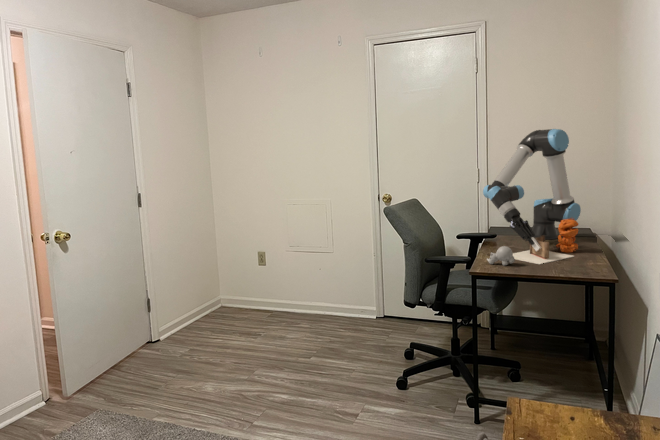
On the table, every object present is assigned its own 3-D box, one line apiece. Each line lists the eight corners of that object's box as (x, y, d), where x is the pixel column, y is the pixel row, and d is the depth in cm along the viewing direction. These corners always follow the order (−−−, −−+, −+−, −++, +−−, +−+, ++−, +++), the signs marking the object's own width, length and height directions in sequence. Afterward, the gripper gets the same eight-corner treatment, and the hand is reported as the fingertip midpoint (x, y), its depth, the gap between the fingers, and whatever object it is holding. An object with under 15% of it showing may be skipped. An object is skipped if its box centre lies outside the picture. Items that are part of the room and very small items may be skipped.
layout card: (501, 256, 252) (501, 255, 252) (535, 249, 266) (535, 248, 266) (539, 264, 234) (540, 263, 234) (574, 256, 247) (574, 255, 247)
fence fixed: (541, 250, 262) (541, 235, 261) (545, 250, 260) (545, 235, 259) (528, 253, 255) (529, 237, 254) (532, 254, 254) (533, 238, 253)
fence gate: (531, 253, 253) (531, 237, 252) (535, 252, 254) (535, 237, 253) (545, 258, 241) (546, 242, 240) (549, 258, 241) (550, 242, 240)
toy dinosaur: (569, 254, 252) (570, 219, 249) (551, 251, 261) (552, 216, 259) (584, 252, 257) (585, 217, 254) (565, 248, 266) (566, 214, 264)
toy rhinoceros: (491, 267, 241) (485, 251, 241) (516, 259, 236) (509, 242, 236) (490, 270, 235) (483, 253, 235) (515, 262, 229) (508, 245, 230)
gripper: (512, 215, 262) (541, 252, 251) (497, 218, 255) (526, 255, 244) (522, 206, 257) (551, 243, 246) (506, 208, 250) (536, 246, 239)
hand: (538, 249), depth 245 cm, fingers closed
